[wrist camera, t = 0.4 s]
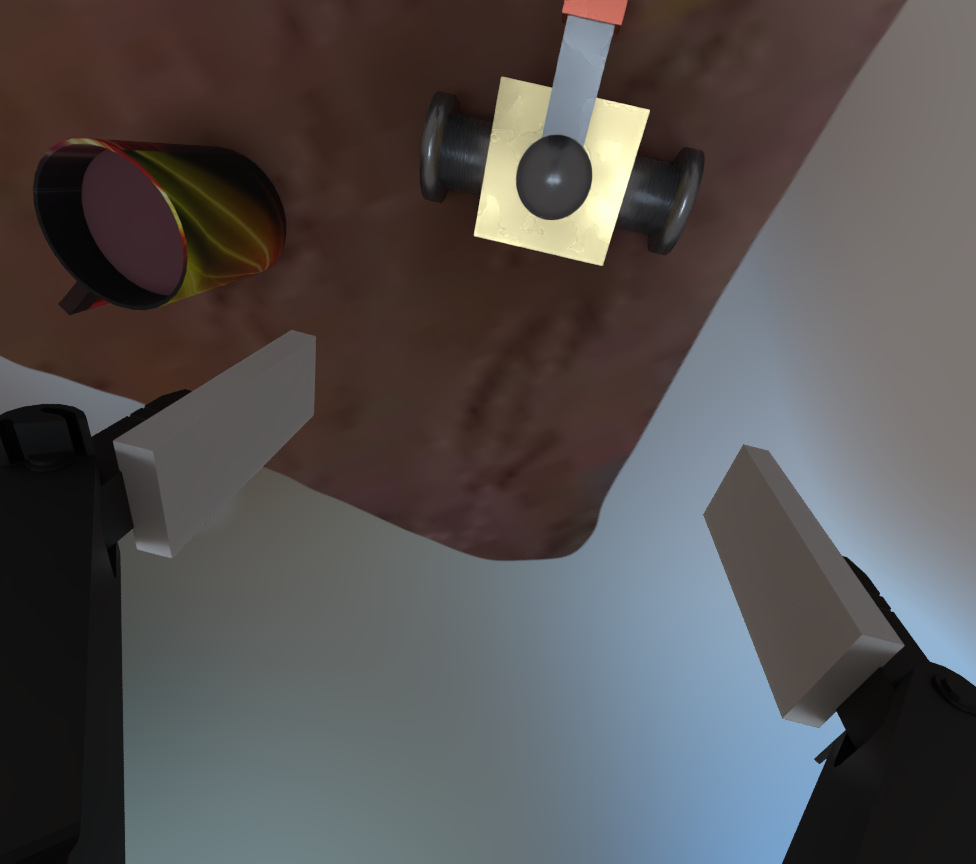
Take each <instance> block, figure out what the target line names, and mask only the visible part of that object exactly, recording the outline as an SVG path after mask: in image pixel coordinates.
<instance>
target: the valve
mask: <svg viewBox="0 0 976 864" xmlns="http://www.w3.org/2000/svg"><path fill="white" fill-rule="evenodd" d="M551 91H552V88H551V87H546V86H542V85H537V84H533V83H528V82H524V81H520V80H515V79H511V78H506V77H502V76H501V81H500V87H499V92H498V98H497V104H496V110H495V116H494V121H493V122H490V121H486V120H481V119H477V118H473V117H468V116H464V115H460V108H459V101H458V98H457V96H456V95H455V94H450V93H446V92H442V91H437V92H436V93H435V95H434V97H433V99H432V101H431V103H430V106H429V109H428V113H427V117H426V121H425V126H424V131H423V138H422V146H421V157H420V184H421V191H422V195H423V197H424V199H426V200H430V201H434V202H438V203H442V202H443V201H444V199H445V198H446V196H447V193H448V191H449V189H452V190H457V191H461V192H465V193H470V194H474V195H478V196H481V197H480V203H479V208H478V214H477V220H476V226H475V232H474V236H477V237H481V238H486V239H490V240H494V241H498V242H503V243H507V244H511V245H515V246H520V247H524V248H528V249H532V250H537V251H541V252H545V253H550V254H554V255H558V256H562V257H567V258H571V259H575V260H579V261H584V262H588V263H592V264H597V265H601V266H603V263H604V259H605V256H606V253H607V249H608V246H609V243H610V240H611V236H612V233H613V230H614V227H616V228H621V229H625V230H629V231H634V232H638V233H642V234H646V235H649V237H648V250H649V251H650V252H653V253H658V254H662V255H666V254H668V253H669V252H670V251H671V250H672V248H673V247H674V246H675V244H676V242H677V241H678V239H679V237H680V235H681V233H682V231H683V229H684V227H685V225H686V223H687V220H688V218H689V216H690V213H691V211H692V208H693V205H694V202H695V199H696V196H697V193H698V190H699V187H700V183H701V179H702V174H703V169H704V160H705V157H704V152H703V151H701V150H697V149H693V148H688V147H684V148H683V149H682V150H681V151H680V153H679V154H678V156H677V157H676V159H675V161H674V163H670V162H665V161H661V160H657V159H652V158H648V157H644V156H639V155H637V151H638V148H639V145H640V142H641V138H642V135H643V132H644V128H645V125H646V122H647V119H648V115H649V112H650V110H648V109H644V108H639V107H635V106H630V105H626V104H621V103H617V102H613V101H608V100H604V99H599V98H596V101H595V105H594V109H593V113H592V116H591V120H590V124H589V128H588V132H587V136H586V140H585V144H584V149H585V151H586V152H587V154H588V156H589V159H590V161H591V165H592V184H591V188H590V191H589V194H588V196H587V198H586V200H585V201H584V203H583V204H582V205H581V207H580V208H579V209H578V210H577V211H575V212H574V213H573V214H571V215H570V216H568V217H565V218H563V219H559V220H545V219H541V218H539V217H536V216H535V215H533V214H532V213H530V212H529V211H528V210H527V209H526V208H525V206H524V205H523V203H522V202H521V200H520V198H519V195H518V192H517V187H516V173H517V168H518V165H519V162H520V160H521V158H522V156H523V154H524V153H525V151H526V150H527V149H528V148H529V147H530V146H531V145H532V144H533V143H534V142H536V141H537V140H539V139H541V137H542V133H543V128H544V124H545V119H546V114H547V110H548V105H549V101H550V96H551Z"/></svg>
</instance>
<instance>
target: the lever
mask: <svg viewBox="0 0 976 864" xmlns="http://www.w3.org/2000/svg"><path fill="white" fill-rule="evenodd" d="M627 1H628V0H565V2H564V6H563V11H562V22H563V23H566V27H565V32H564V36H563V41H562V45H561V50H560V55H559V59H558V64H557V68H556V73H555V78H554V82H553V87H552V91H551V96H550V101H549V105H548V110H547V114H546V119H545V124H544V128H543V133H542V137H541V139H539V140H537V141H536V142H534V143H533V144H532V145H531V146H530V147H529V148H528V149H527V150H526V151H525V153H524V154H523V156H522V158H521V160H520V162H519V165H518V168H517V173H516V187H517V192H518V195H519V198H520V200H521V202H522V203H523V205H524V206H525V208H526V209H527V210H528V211H529V212H530V213H532V214H533V215H535V216H536V217H539V218H541V219H545V220H559V219H563V218H565V217H568V216H570V215H571V214H573V213H574V212H575V211H577V210H578V209H579V208H580V207H581V205H582V204H583V203H584V201H585V200H586V198H587V196H588V194H589V191H590V188H591V184H592V165H591V161H590V159H589V156H588V154H587V152H586V151H585V149H584V144H585V140H586V136H587V132H588V128H589V124H590V120H591V116H592V113H593V109H594V105H595V101H596V97H597V93H598V89H599V85H600V81H601V77H602V74H603V70H604V66H605V62H606V58H607V54H608V50H609V46H610V42H611V38H612V35H613V34H617V35H618V32H619V30H620V27H621V24H622V21H623V17H624V13H625V9H626V5H627Z"/></svg>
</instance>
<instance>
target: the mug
mask: <svg viewBox="0 0 976 864" xmlns="http://www.w3.org/2000/svg"><path fill="white" fill-rule="evenodd" d="M33 195H34V206H35V210H36V214H37V218H38V222H39V224H40V227H41V229H42V232H43V234H44V237H45V239H46V240H47V242H48V244H49V246H50V247H51V249H52V251H53V253H54V254H55V256H56V257H57V258H58V260H59V261H60V262H61V264H62V265H63V266H64V268H65V269H66V270H67V271H68V272H69V273H70V274H71V275H72V276H73V277H74V278H75V279H76V280H77V282H76V283H75V285H74V286H73V287H72V288H71V290H70V291H69V292H68V294H67V295H66V296H65V297H64V298H63V299H62V300H61V301H60V302H59V305H60V306H61V307H62V308H63V309H64V310H65V311H66V312H67V313H68V314H69V315H71V314H75V313H78V312H81V311H85V310H88V309H92V308H95V307H98V306H102V305H105V304H109V303H112V304H114V305H116V306H119V307H123V308H127V309H132V310H148V309H153V308H158V307H161V306H164V305H167V304H170V303H173V302H176V301H178V300H181V299H184V298H187V297H190V296H193V295H196V294H199V293H202V292H205V291H208V290H211V289H214V288H217V287H220V286H223V285H226V284H229V283H232V282H234V281H237V280H240V279H243V278H246V277H249V276H252V275H255V274H258V273H260V272H262V271H264V270H267V269H268V268H269V267H270V266H272V265H273V264H274V263H275V261H276V260H277V259H278V257H279V256H280V254H281V252H282V249H283V247H284V243H285V238H286V219H285V213H284V209H283V206H282V203H281V200H280V197H279V195H278V193H277V191H276V189H275V188H274V186H273V184H272V183H271V181H270V180H269V178H268V177H267V176H266V174H265V173H264V172H263V171H262V170H261V169H260V168H259V167H258V166H257V165H256V164H255V163H254V162H252V161H251V160H249V159H248V158H247V157H245V156H244V155H242V154H240V153H237V152H235V151H233V150H230V149H226V148H221V147H210V146H195V145H179V144H164V143H149V142H134V141H119V140H104V139H89V138H72V139H69V140H65V141H62V142H59V143H57V144H56V145H54V146H53V147H51V148H50V149H48V151H47V152H46V153H45V154H44V156H43V157H42V158H41V160H40V162H39V164H38V167H37V169H36V172H35V177H34V184H33Z"/></svg>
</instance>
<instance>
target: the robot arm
mask: <svg viewBox="0 0 976 864" xmlns="http://www.w3.org/2000/svg"><path fill="white" fill-rule="evenodd" d="M315 351H316V336H313V335H309V334H305V333H301V332H297V331H293V330H291V331H289V332H288V333H286V334H284V335H283V336H281V337H279V338H278V339H276V340H275V341H273V342H271V343H270V344H268V345H267V346H265V347H263V348H262V349H260V350H258V351H257V352H255V353H254V354H252V355H250V356H249V357H247V358H246V359H244V360H242V361H241V362H239V363H237V364H236V365H234V366H233V367H231V368H229V369H228V370H226V371H225V372H223V373H221V374H220V375H218V376H217V377H215V378H213V379H212V380H210V381H208V382H207V383H205V384H204V385H202V386H200V387H199V388H197V389H196V390H194V391H190V390H186V389H184V390H180V391H177V392H173V393H170V394H166V395H163V396H161V397H159V398H157V399H156V400H154V401H152V402H150V403H149V404H147V405H145V408H140V409H139V410H137V411H135V412H134V413H132V414H131V415H130V417H128V416H127V417H125V418H123V419H121V420H120V421H118V422H116V423H114V424H113V425H111V426H109V427H108V428H106V429H104V430H102V431H101V432H99V433H97V434H96V435H94V436H92V437H91V434H90V430H89V426H88V422H87V418H86V416H85V414H84V412H83V411H81V410H79V409H77V408H76V407H73V406H67V405H62V404H40V405H32V406H26V407H21V408H18V409H14V410H11V411H7V412H5V413H3V414H1V415H0V864H125V812H124V753H123V752H124V751H123V693H122V692H123V689H122V629H121V565H120V550H119V546H118V542H117V541H119V540H120V539H121V538H122V537H123V536H124V535H126V534H127V533H128V532H129V531H130V530H131V529H133V533H134V537H135V542H136V546H137V549H138V550H142V551H146V552H150V553H153V554H157V555H161V556H165V557H169V558H173V557H174V556H175V555H176V554H177V553H178V552H179V551H180V550H181V549H182V548H183V547H184V546H185V545H186V544H187V543H188V542H189V541H190V539H192V538H193V537H194V536H195V535H196V533H198V531H200V530H201V528H203V527H204V525H205V524H206V523H207V522H208V521H209V520H210V519H211V518H212V517H213V516H214V515H215V514H216V513H217V512H218V511H219V510H220V509H221V508H222V507H223V506H224V505H225V504H226V503H227V502H228V501H229V500H230V499H231V498H232V497H233V496H234V495H235V494H236V493H237V492H238V491H239V490H240V489H241V488H242V487H243V486H244V485H245V484H246V483H247V482H248V481H249V480H250V479H251V478H252V477H253V476H254V475H255V474H256V473H257V472H258V471H259V470H260V469H261V468H262V467H263V466H264V465H265V464H266V463H267V462H268V461H269V460H270V459H271V458H272V457H273V456H274V455H275V454H276V453H277V452H278V451H279V450H280V449H281V448H282V447H283V446H284V445H285V444H286V443H287V442H288V441H289V440H290V439H291V438H292V436H293V435H294V434H295V433H296V432H297V431H298V430H299V429H300V428H301V427H302V426H303V425H304V424H305V423H306V422H307V421H308V420H309V419H310V418H311V417H312V416H313V415H314V388H315ZM703 515H704V518H705V520H706V523H707V525H708V528H709V531H710V533H711V536H712V538H713V541H714V543H715V546H716V549H717V551H718V554H719V556H720V559H721V562H722V564H723V566H724V569H725V572H726V574H727V577H728V580H729V582H730V585H731V587H732V590H733V592H734V595H735V598H736V600H737V603H738V605H739V608H740V610H741V613H742V616H743V618H744V621H745V623H746V626H747V629H748V631H749V634H750V636H751V639H752V641H753V644H754V646H755V649H756V652H757V654H758V657H759V659H760V662H761V665H762V667H763V670H764V672H765V675H766V677H767V680H768V683H769V685H770V688H771V690H772V693H773V695H774V698H775V701H776V703H777V706H778V708H779V711H780V713H781V716H782V718H783V719H786V720H790V721H794V722H798V723H802V724H805V725H809V726H813V727H817V728H819V727H820V726H822V725H823V724H824V723H825V721H827V720H828V719H829V718H830V717H831V716H832V715H833V714H834V713H835V712H836V711H837V713H838V715H839V717H840V719H841V721H842V723H843V725H844V727H845V729H846V730H845V731H844V732H843V733H842V734H841V735H840V736H839V737H838V738H837V739H835V740H834V741H833V742H832V743H831V744H830V745H829V746H828V747H827V748H826V749H824V750H823V751H822V752H821V753H820V754H819V755H818V756H817V757H816V758H815V759H814V760H815V761H817V762H818V763H819V764H820V763H822V762H823V761H824V760H825V759H827V760H826V762H825V765H824V767H823V769H822V771H821V774H820V776H819V778H818V781H817V783H816V785H815V788H814V790H813V792H812V795H811V797H810V799H809V802H808V804H807V806H806V809H805V811H804V813H803V816H802V818H801V820H800V823H799V825H798V828H797V830H796V832H795V834H794V837H793V839H792V841H791V844H790V847H789V849H788V851H787V853H786V856H785V858H784V860H783V863H782V864H976V687H975V686H974V685H973V684H971V683H970V682H969V681H967V680H966V679H965V678H964V677H962V676H961V675H959V674H957V673H955V672H954V671H952V670H950V669H948V668H946V667H944V666H941V665H938V664H935V663H932V662H930V661H929V660H928V659H927V657H926V656H925V655H924V653H923V652H922V650H921V649H920V648H919V646H918V645H917V643H916V642H915V641H914V639H913V638H912V637H911V635H910V634H909V633H908V631H907V630H906V628H905V627H904V626H903V624H902V623H901V621H900V620H899V619H898V617H897V616H896V615H895V613H894V612H891V611H890V609H891V608H890V606H889V605H888V604H887V603H886V601H885V599H884V598H883V597H881V596H879V595H880V593H879V591H878V590H877V588H876V587H875V586H874V584H873V583H872V581H871V580H870V579H869V577H868V576H867V575H866V574H865V573H864V572H863V571H862V570H861V569H860V568H858V567H857V566H856V565H855V564H854V563H853V562H852V561H851V560H850V559H848V558H847V557H844V556H842V555H841V554H840V552H839V551H838V549H837V548H836V547H835V545H834V544H833V542H832V541H831V539H830V538H829V537H828V535H827V534H826V532H825V531H824V529H823V528H822V527H821V525H820V524H819V522H818V521H817V519H816V518H815V516H814V515H813V514H812V512H811V511H810V509H809V508H808V507H807V505H806V504H805V502H804V501H803V499H802V498H801V496H800V495H799V494H798V492H797V491H796V489H795V488H794V487H793V485H792V484H791V482H790V481H789V479H788V478H787V476H786V475H785V474H784V472H783V471H782V469H781V468H780V466H779V465H778V464H777V462H776V461H775V459H774V458H773V456H772V455H771V454H770V452H769V451H767V450H763V449H759V448H755V447H751V446H748V445H744V444H743V446H742V448H741V449H740V451H739V453H738V455H737V456H736V458H735V460H734V462H733V463H732V465H731V467H730V469H729V471H728V472H727V474H726V476H725V478H724V479H723V481H722V483H721V485H720V486H719V488H718V490H717V491H716V493H715V495H714V497H713V498H712V500H711V502H710V504H709V505H708V507H707V509H706V511H705V513H704V514H703Z"/></svg>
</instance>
